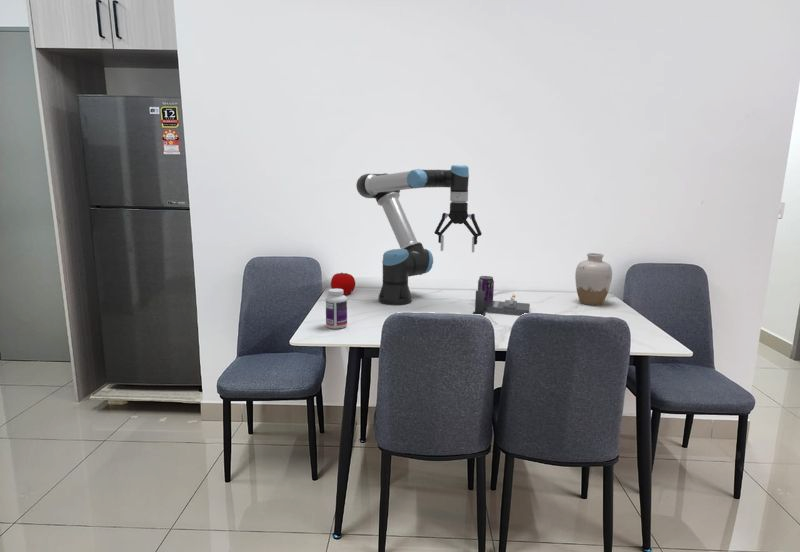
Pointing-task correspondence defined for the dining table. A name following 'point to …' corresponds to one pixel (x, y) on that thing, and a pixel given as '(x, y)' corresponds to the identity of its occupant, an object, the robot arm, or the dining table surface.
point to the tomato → (343, 282)
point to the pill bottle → (336, 309)
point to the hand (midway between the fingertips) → (457, 251)
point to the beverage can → (486, 286)
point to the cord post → (479, 303)
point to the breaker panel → (506, 307)
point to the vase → (593, 279)
